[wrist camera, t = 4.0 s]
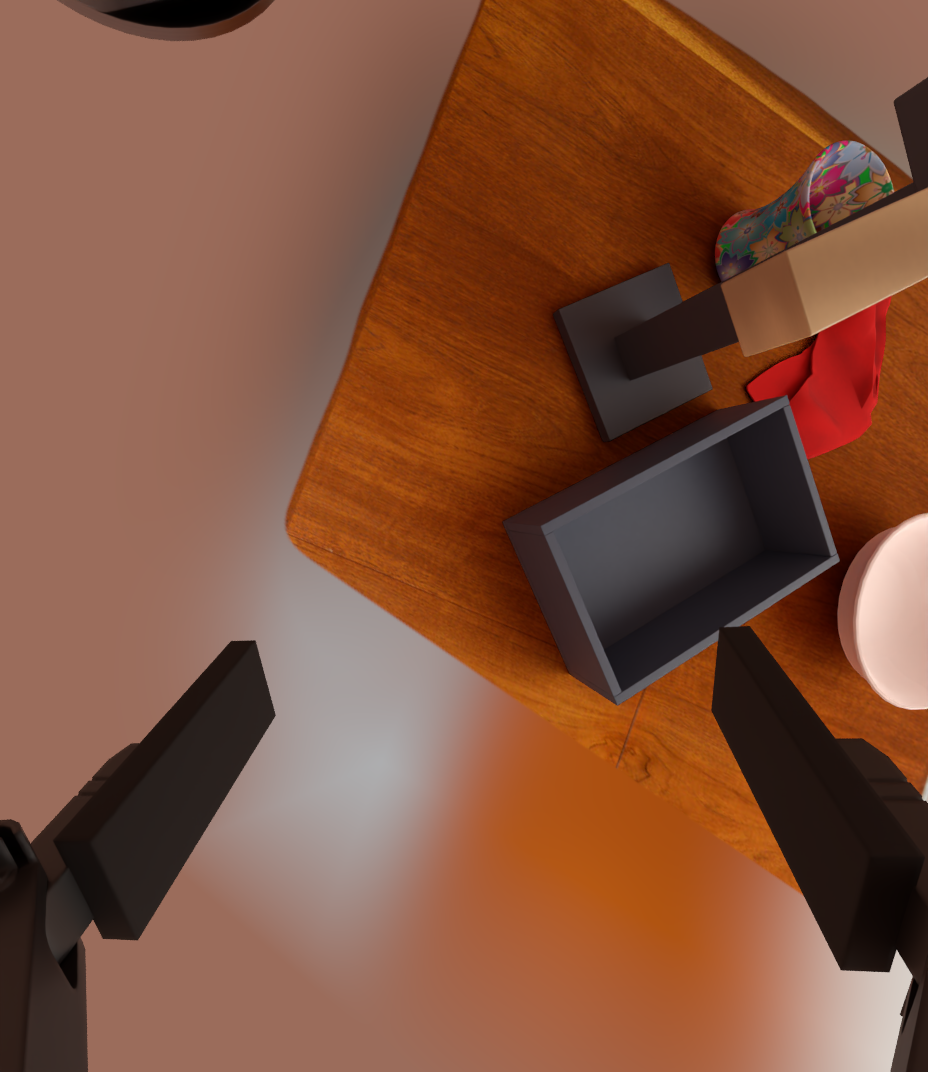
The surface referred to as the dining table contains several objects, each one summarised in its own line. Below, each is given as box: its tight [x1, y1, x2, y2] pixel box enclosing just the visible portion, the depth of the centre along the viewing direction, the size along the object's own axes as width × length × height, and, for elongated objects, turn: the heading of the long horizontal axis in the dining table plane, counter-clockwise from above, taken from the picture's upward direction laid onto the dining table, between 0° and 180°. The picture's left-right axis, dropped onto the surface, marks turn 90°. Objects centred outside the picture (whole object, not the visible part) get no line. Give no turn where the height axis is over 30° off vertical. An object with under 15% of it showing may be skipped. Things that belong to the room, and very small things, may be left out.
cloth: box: [746, 296, 891, 459], centre depth 55 cm, size 26×14×2 cm, turn 132°
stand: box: [553, 77, 928, 442], centre depth 35 cm, size 12×12×28 cm
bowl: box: [837, 513, 928, 710], centre depth 56 cm, size 20×20×6 cm
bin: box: [502, 395, 840, 705], centre depth 47 cm, size 16×25×8 cm, turn 115°
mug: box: [715, 141, 894, 282], centre depth 46 cm, size 12×9×11 cm
